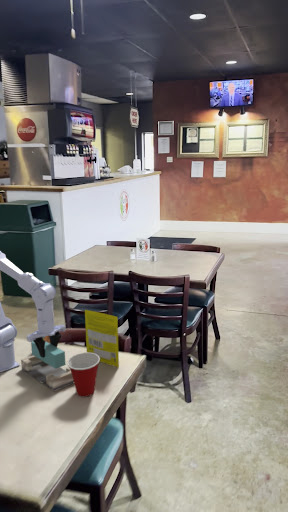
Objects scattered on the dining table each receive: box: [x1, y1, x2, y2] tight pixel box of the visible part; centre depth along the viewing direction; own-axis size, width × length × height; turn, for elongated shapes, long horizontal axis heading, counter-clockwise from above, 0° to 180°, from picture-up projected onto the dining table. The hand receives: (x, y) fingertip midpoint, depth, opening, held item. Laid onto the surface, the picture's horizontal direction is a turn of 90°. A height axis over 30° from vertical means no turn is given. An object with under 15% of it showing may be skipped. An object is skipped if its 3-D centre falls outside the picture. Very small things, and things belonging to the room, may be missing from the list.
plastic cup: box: [66, 351, 100, 398], centre depth 145 cm, size 11×11×12 cm
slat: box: [30, 341, 67, 369], centre depth 156 cm, size 16×4×5 cm, turn 43°
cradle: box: [20, 354, 74, 392], centre depth 158 cm, size 22×10×4 cm, turn 43°
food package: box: [84, 309, 120, 368], centre depth 165 cm, size 15×1×20 cm, turn 58°
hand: (48, 354), depth 157 cm, fingers closed on slat, 4 cm apart
